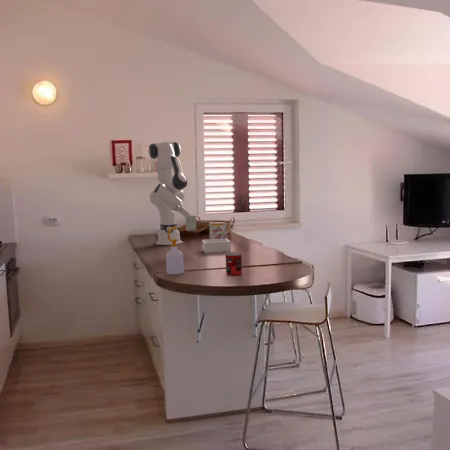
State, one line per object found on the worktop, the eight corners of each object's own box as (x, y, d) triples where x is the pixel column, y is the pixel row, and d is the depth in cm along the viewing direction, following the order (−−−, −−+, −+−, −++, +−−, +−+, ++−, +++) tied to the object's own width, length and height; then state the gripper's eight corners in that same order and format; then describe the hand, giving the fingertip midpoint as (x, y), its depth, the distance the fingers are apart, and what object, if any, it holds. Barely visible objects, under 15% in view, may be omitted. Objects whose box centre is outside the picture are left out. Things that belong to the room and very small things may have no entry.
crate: (202, 250, 362) (202, 239, 361) (226, 248, 364) (226, 238, 363) (205, 253, 348) (205, 242, 347) (230, 252, 350) (230, 241, 350)
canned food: (225, 273, 288) (224, 252, 286) (240, 272, 288) (240, 251, 287) (226, 276, 280) (226, 254, 279) (242, 275, 281) (242, 254, 279)
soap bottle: (185, 273, 289) (183, 227, 286) (168, 275, 287) (166, 228, 284) (182, 270, 298) (180, 225, 295) (165, 272, 295) (163, 226, 292)
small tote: (185, 229, 355) (185, 215, 354) (195, 229, 356) (194, 215, 355) (186, 231, 349) (186, 216, 348) (196, 230, 350) (195, 216, 349)
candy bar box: (209, 247, 372) (208, 223, 370) (210, 246, 377) (209, 222, 375) (226, 247, 371) (225, 222, 369) (226, 246, 376) (226, 222, 374)
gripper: (180, 202, 339) (196, 217, 342) (177, 199, 359) (193, 214, 362) (173, 209, 339) (190, 224, 342) (171, 207, 359) (186, 221, 362)
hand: (191, 219), depth 352 cm, fingers closed on small tote, 6 cm apart
